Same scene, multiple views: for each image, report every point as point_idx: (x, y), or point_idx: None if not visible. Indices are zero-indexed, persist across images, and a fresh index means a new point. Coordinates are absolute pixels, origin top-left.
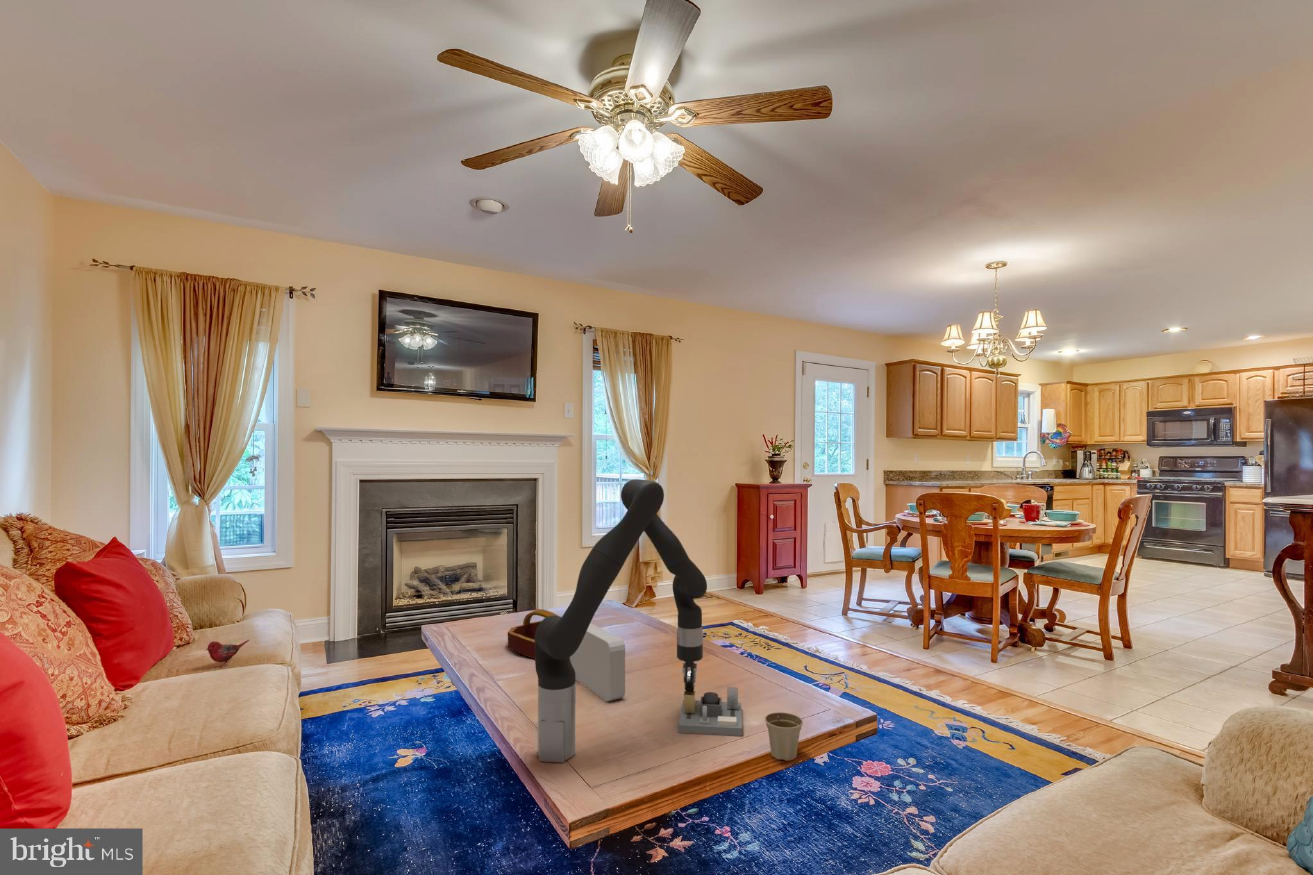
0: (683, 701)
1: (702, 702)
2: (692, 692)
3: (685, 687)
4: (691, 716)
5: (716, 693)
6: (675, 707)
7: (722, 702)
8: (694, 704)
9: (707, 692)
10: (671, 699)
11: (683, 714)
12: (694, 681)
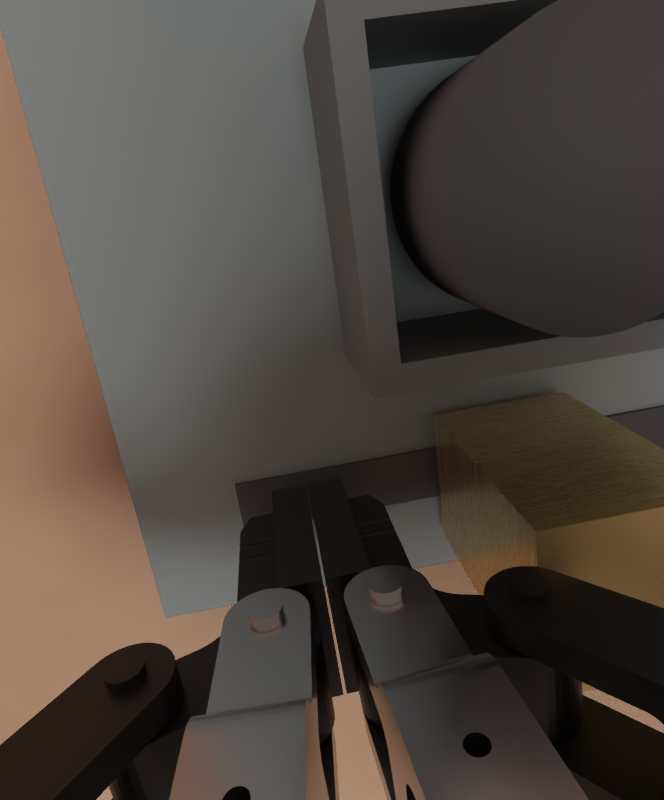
0: (214, 598)
1: (506, 334)
2: (616, 557)
3: (642, 737)
4: (615, 408)
5: (508, 48)
6: (220, 627)
7: (45, 67)
8: (630, 430)
9: (478, 282)
10: (32, 717)
11: None
12: (499, 685)
